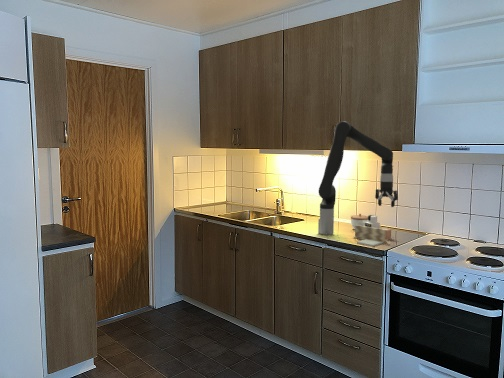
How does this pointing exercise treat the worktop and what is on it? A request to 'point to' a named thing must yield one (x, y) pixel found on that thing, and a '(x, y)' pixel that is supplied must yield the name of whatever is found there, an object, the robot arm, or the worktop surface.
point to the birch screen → (369, 233)
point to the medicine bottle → (372, 222)
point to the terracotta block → (387, 234)
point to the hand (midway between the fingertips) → (386, 206)
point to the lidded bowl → (358, 220)
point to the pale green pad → (369, 242)
